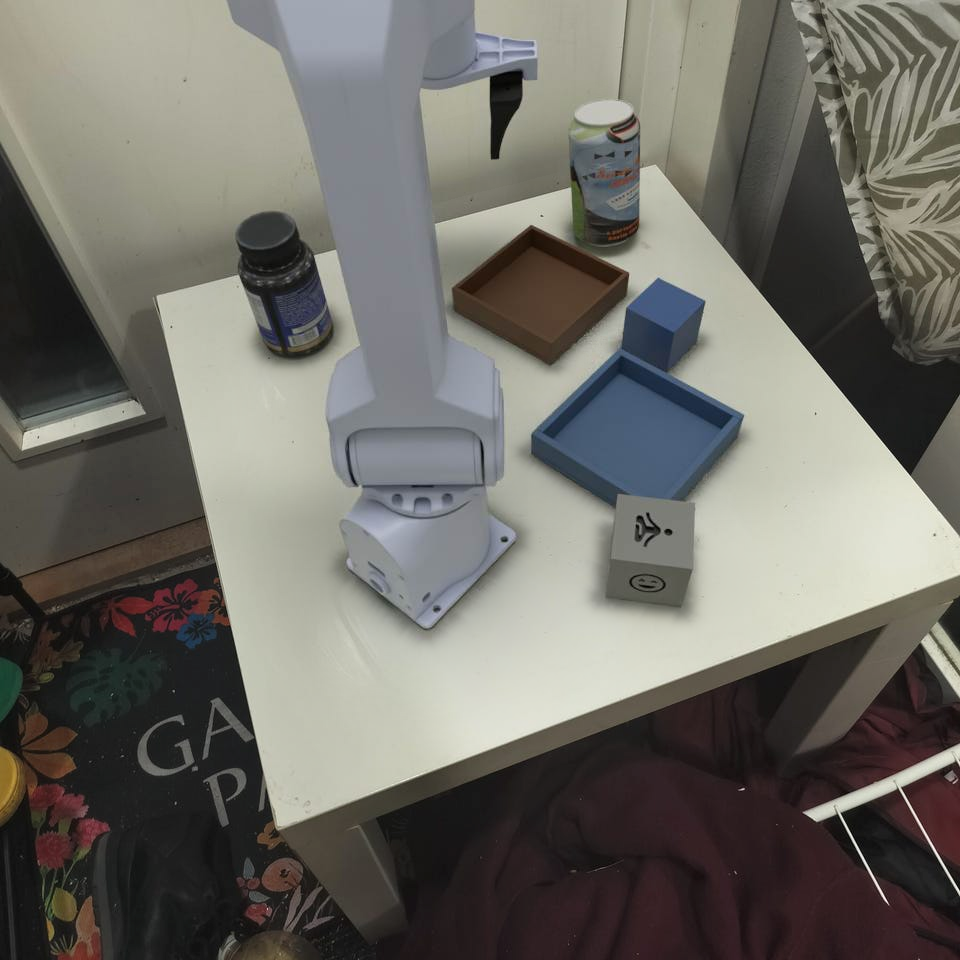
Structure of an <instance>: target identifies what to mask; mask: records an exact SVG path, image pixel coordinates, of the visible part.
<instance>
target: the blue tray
mask: <svg viewBox="0 0 960 960" xmlns="http://www.w3.org/2000/svg"><path fill="white" fill-rule="evenodd" d="M744 417H745V414H744V413H742V412H741V411H738V410H736V409H735V408H732V406H731V407H730V406H729V405H727V404H724V403H723V402H721V401H719V400H718V399H715V398H714V397H713V396H710V395H708V394H706V393H704V392H703V391H701V390H699V389H698V388H696V387H694V386H691V385H689V384H688V383H686V382H684V381H682V380H680V379H678V378H677V377H674V376H673V375H671V374H670V373H668V372H665V371H663V370H661V369H659V368H657V367H655V366H654V365H652V364H650V363H648V362H646V361H644V360H642V359H640V358H639V357H637V356H635V355H633V354H631V353H629V352H627V351H626V350H624V349H622V348H621V347H619V348H618V349H617V350H616V351H615V352H614V353H613V354H611V356H610V357H609V358H608V359H606V360H605V361H604V363H602V364H601V366H599V367H598V368H597V369H596V370H595V371H594V372H593V373H591V375H590V376H589V377H588V378H587V379H586V380H585V381H584V382H583V383H582V384H580V385H579V386H578V388H576V389H575V391H573V392H572V393H571V395H569V396H568V397H567V398H566V399H565V400H564V401H563V402H562V403H561V404H560V405H559V406H558V407H557V408H556V409H554V410H553V412H552V413H551V414H549V415H548V416H547V417H546V418H545V420H543V421H542V422H541V423H540V424H539V425H538V426H537V427H536V428H535V429H534V430H533V431H532V432H531V434H530V451H531V452H530V454H531V455H532V456H534V457H535V458H537V459H538V460H540V461H541V462H543V463H544V464H546V465H548V466H550V467H551V468H552V469H554V470H555V471H558V472H559V473H561V474H562V475H563V476H565V477H567V478H569V479H570V480H571V481H573V482H575V483H576V484H578V485H579V486H581V487H582V488H584V489H586V490H587V491H589V492H591V493H593V494H594V495H595V496H597V497H598V498H600V499H602V500H603V501H605V502H606V503H608V504H609V505H611V506H613V507H614V508H616V503H617V496H618V494H623V495H632V496H640V497H649V498H658V499H666V500H675V501H684V499H685V498H686V497H687V496H688V494H689V493H690V492H691V491H692V490H693V489H694V487H695V486H696V485H697V484H698V483H699V482H700V481H701V480H702V478H703V477H704V476H705V475H706V474H707V473H708V471H709V470H710V469H711V468H712V467H713V466H714V464H715V463H716V462H717V461H718V460H719V458H721V456H722V455H723V454H724V453H725V452H726V450H728V448H729V447H730V446H731V445H732V443H733V442H734V441H735V440H736V439H737V438H738V437H739V433H740V430H741V427H742V425H743V421H744Z"/></svg>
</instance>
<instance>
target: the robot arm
mask: <svg viewBox="0 0 960 960" xmlns="http://www.w3.org/2000/svg"><path fill="white" fill-rule="evenodd" d="M226 3H227V7H228V10H229V13H230V16H231V20H232V21H233V23H234V24H235V25H236V26H238V27H239V28H241V29H243V30H244V31H246V32H248V33H249V34H250V35H252V36H254V37H255V38H258V39H259V40H260V41H263V42H264V43H265V44H266V45H268V46H270V47H272V48H274V49H275V50H277V51H278V53H279V54H280V57H281V60H282V63H283V66H284V69H285V71H286V74H287V75H286V76H287V77H288V79H289V80H288V81H289V83H290V87H291V89H292V92H293V95H294V99H295V101H296V104H297V107H298V110H299V112H300V115H301V119H302V122H303V125H304V129H305V131H306V134H307V139H308V143H309V147H310V150H311V155H312V159H313V163H314V166H315V172H316V176H317V180H318V183H319V187H320V191H321V195H322V198H323V199H322V200H323V203H324V206H325V211H326V215H327V218H328V222H329V227H330V232H331V234H332V238H333V244H334V246H335V250H336V255H337V259H338V262H339V267H340V271H341V275H342V279H343V282H344V287H345V291H346V294H347V299H348V302H349V307H350V311H351V314H352V319H353V323H354V326H355V331H356V334H357V339H358V342H359V345H358V346H357V347H355V348H354V349H352V350H350V351H349V352H347V353H346V354H345V355H343V356H342V357H341V358H339V359H338V360H337V361H336V363H335V365H334V368H333V372H332V374H331V375H330V379H329V382H328V387H327V395H326V402H325V403H326V404H325V422H326V425H327V429H328V433H329V435H328V436H329V451H330V457H331V463H332V467H333V470H334V473H335V476H336V477H337V478H338V479H339V480H340V481H341V482H342V484H343V485H344V486H345V487H346V488H348V489H353V488H359V487H360V486H361V489H362V492H361V493H360V495H359V497H358V499H357V500H356V501H355V503H354V505H352V507H351V508H349V510H348V511H347V512H346V513H345V514H344V515H343V516H342V518H341V519H340V521H339V530H340V533H341V536H342V539H343V542H344V545H345V547H346V550H347V553H348V556H349V557H348V558H347V559H346V566H347V568H348V569H349V570H350V571H351V572H352V573H354V574H355V575H356V576H358V577H359V578H360V579H361V580H362V581H364V583H366V584H368V585H369V586H370V587H371V588H372V589H374V590H375V591H377V592H378V593H379V594H380V595H381V596H382V597H384V598H385V599H387V600H388V602H390V603H391V604H393V606H395V607H396V608H398V609H399V610H400V611H401V612H403V613H404V615H406V616H408V617H409V618H410V619H411V620H413V622H415V623H416V624H418V625H419V626H420V627H421V628H423V629H426V630H427V629H431V628H432V627H433V626H435V624H436V623H437V622H438V621H439V620H440V619H441V618H443V616H444V615H445V614H446V613H447V612H448V611H449V610H450V609H451V608H452V607H453V606H454V605H455V604H456V603H457V602H458V601H459V600H460V598H462V596H463V595H464V594H466V592H467V591H468V590H470V588H471V587H472V586H473V585H474V584H475V583H476V582H477V581H478V580H479V579H480V578H481V577H482V576H483V575H484V574H485V572H487V571H488V570H489V568H491V566H492V565H493V564H494V563H495V562H496V561H498V559H499V558H500V557H501V556H502V555H503V554H504V553H505V552H506V551H507V550H508V549H509V548H510V547H511V546H512V544H513V543H515V542H516V540H517V533H516V531H515V530H514V529H512V528H511V527H510V526H508V525H506V524H505V523H504V522H502V521H501V520H499V519H498V518H496V517H495V516H493V515H492V514H491V513H489V505H488V494H487V493H488V492H487V487H493V488H494V487H496V486H497V485H498V482H500V480H502V479H503V478H504V477H505V400H504V399H505V398H504V389H503V387H502V386H501V377H500V371H499V370H498V369H497V368H496V365H495V358H493V357H491V356H490V355H488V354H487V353H484V352H483V351H481V350H479V349H477V348H475V347H474V346H471V345H469V344H467V343H465V342H462V341H461V340H459V339H457V338H455V337H454V336H452V335H450V333H449V331H448V330H449V329H448V321H447V313H446V305H445V296H444V287H443V279H442V271H441V263H440V254H439V245H438V237H437V230H436V220H435V213H434V204H433V197H432V195H433V194H432V189H431V187H432V186H431V180H430V172H429V171H430V169H429V163H428V154H427V146H426V136H425V130H424V129H425V128H424V120H423V111H422V104H421V94H420V93H421V89H423V90H430V91H440V90H447V89H451V88H455V87H459V86H463V85H466V84H469V83H473V82H476V81H479V80H483V79H486V78H489V112H490V113H489V114H490V132H489V133H490V136H489V137H490V139H489V141H490V144H489V145H490V150H489V151H490V160H491V161H493V160H499V159H500V154H501V153H500V152H501V148H502V144H503V140H504V137H505V134H506V131H507V129H508V127H509V125H510V122H511V121H512V119H513V117H514V116H515V114H516V113H517V111H518V110H519V109H520V107H521V104H522V101H523V95H524V88H523V87H524V86H523V85H524V83H523V80H524V81H537V80H538V67H539V66H538V65H539V64H538V62H539V61H538V40H537V39H520V38H519V39H518V38H512V37H507V36H501V35H497V34H492V33H488V32H487V33H486V32H481V31H476V16H475V15H476V14H475V10H476V0H226ZM503 540H506V542H504V541H503ZM436 609H439V611H437V612H436V611H435V610H436Z"/></svg>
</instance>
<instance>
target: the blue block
mask: <svg viewBox="0 0 960 960" xmlns="http://www.w3.org/2000/svg"><path fill="white" fill-rule="evenodd" d="M706 302H707V301H706V300H705V299H703V298H701V297H699V296H697V295H694V294H692V293H691V292H688V291H686V290H684V289H682V288H680V287H678V286H676V285H674V284H672V283H670V282H668V281H666V280H664V279H662V278H660V277H657V278H656V279H655V280H654V281H653V282H652V283H651V284H650V285H648V286H647V288H645V289H644V290H643V291H642V292H641V293H640V294H639V295H637V297H636V298H635V299H633V300H632V302H630V303H629V304H628V305H627V306H626V307H625V312H624V320H623V330H622V337H621V339H622V340H621V346H620V348H621V349H623V350H625V351H626V352H628V353H630V354H632V355H634V356H636V357H638V358H639V359H641V360H643V361H645V362H647V363H649V364H651V365H652V366H654V367H656V368H658V369H660V370H662V371H664V372H665V373H668V372H669V371H670V370H671V369H672V368H673V367H674V365H676V363H678V362H679V361H680V360H681V359H682V358H683V357H684V356H685V354H686V353H687V352H689V350H690V349H692V347H693V346H694V345H695V344H696V343H697V342H698V338H699V333H700V329H701V325H702V320H703V315H704V310H705V306H706Z"/></svg>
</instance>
